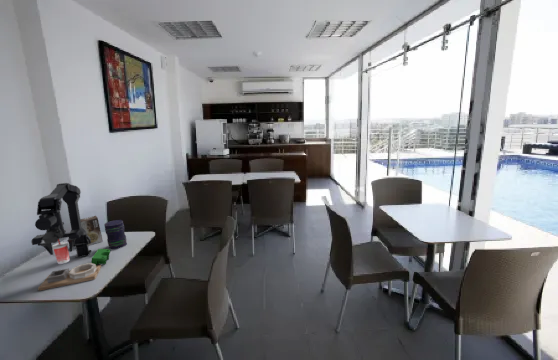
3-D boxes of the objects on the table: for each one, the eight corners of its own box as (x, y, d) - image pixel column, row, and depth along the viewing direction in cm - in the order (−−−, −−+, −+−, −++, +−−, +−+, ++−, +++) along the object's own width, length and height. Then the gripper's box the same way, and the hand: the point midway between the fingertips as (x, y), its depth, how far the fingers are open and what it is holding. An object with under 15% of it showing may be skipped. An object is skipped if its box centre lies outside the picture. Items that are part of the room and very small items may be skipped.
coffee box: (101, 238, 179) (96, 215, 175) (103, 241, 174) (98, 217, 170) (84, 243, 173) (79, 219, 169) (86, 246, 168) (80, 221, 164)
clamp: (104, 272, 145) (103, 261, 140) (91, 272, 143) (90, 260, 138) (111, 255, 154) (110, 243, 150) (98, 254, 152) (98, 243, 148)
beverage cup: (73, 260, 134) (67, 233, 131) (58, 266, 129) (52, 238, 126) (68, 257, 138) (62, 231, 135) (53, 262, 133) (47, 236, 130)
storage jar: (124, 240, 173) (120, 218, 170) (129, 245, 166) (125, 222, 163) (106, 246, 166) (101, 223, 163) (111, 251, 160) (106, 227, 156)
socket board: (50, 277, 134) (48, 269, 134) (101, 267, 142) (99, 260, 141) (38, 290, 123) (36, 283, 122) (94, 279, 130) (93, 271, 130)
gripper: (20, 232, 119) (29, 265, 122) (70, 225, 124) (78, 256, 128) (34, 223, 129) (41, 254, 133) (79, 217, 135) (86, 246, 138)
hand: (61, 253), depth 132 cm, fingers closed on beverage cup, 8 cm apart
